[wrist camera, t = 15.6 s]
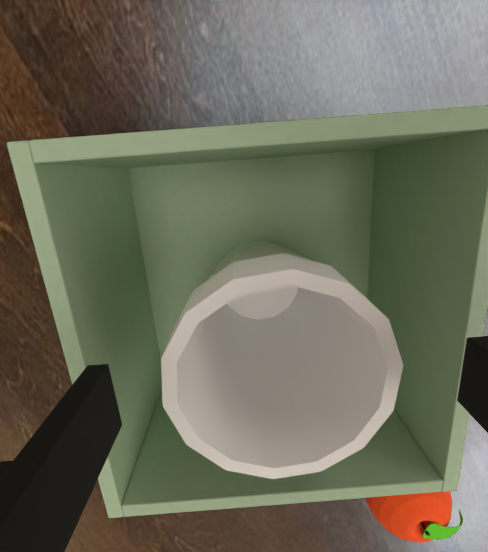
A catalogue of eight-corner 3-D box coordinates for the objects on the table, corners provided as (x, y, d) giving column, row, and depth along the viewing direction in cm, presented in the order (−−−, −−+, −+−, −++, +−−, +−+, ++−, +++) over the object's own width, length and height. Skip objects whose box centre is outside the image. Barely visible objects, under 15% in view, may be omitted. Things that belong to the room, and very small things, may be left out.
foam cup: (244, 355, 27) (251, 510, 15) (172, 269, 25) (108, 366, 12) (342, 291, 25) (443, 403, 13) (275, 193, 23) (322, 216, 11)
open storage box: (381, 137, 23) (522, 102, 12) (369, 366, 29) (457, 491, 17) (118, 157, 23) (4, 141, 12) (158, 382, 28) (108, 518, 17)
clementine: (444, 437, 31) (502, 510, 24) (416, 491, 33) (463, 572, 26) (365, 423, 30) (403, 495, 24) (342, 479, 32) (371, 560, 26)
